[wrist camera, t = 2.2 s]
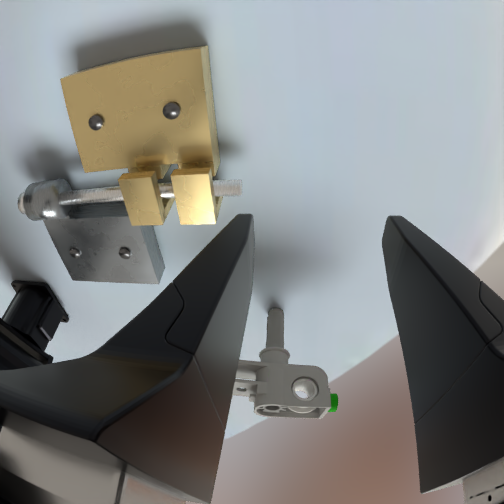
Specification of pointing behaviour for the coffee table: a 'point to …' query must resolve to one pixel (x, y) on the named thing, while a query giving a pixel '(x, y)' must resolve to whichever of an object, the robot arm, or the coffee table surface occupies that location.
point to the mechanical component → (283, 380)
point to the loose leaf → (150, 131)
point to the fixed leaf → (101, 230)
